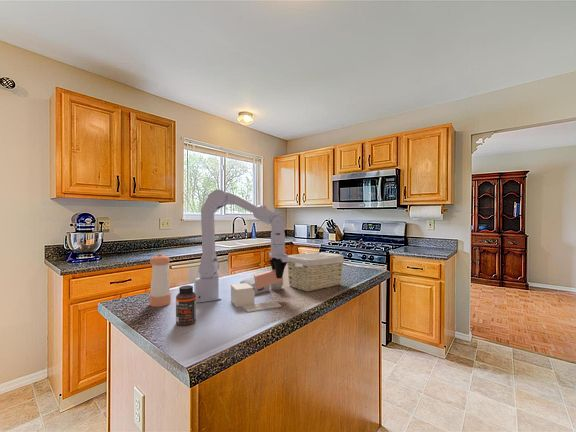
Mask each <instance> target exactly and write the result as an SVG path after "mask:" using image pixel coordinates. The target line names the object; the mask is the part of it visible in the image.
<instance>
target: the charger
mask: <svg viewBox="0 0 576 432" xmlns="http://www.w3.org/2000/svg"><path fill="white" fill-rule="evenodd" d="M241 283H249V284H250V285H252V286H253V287H254V292H255V295H257V294H260V293H264V292H268V291H270V285H268V286H265V287H262V288H259V289H258V288H256V285H255V280H254V277H252V278H246V279H243V280H241V281H240V282H239V284H241Z"/></svg>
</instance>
